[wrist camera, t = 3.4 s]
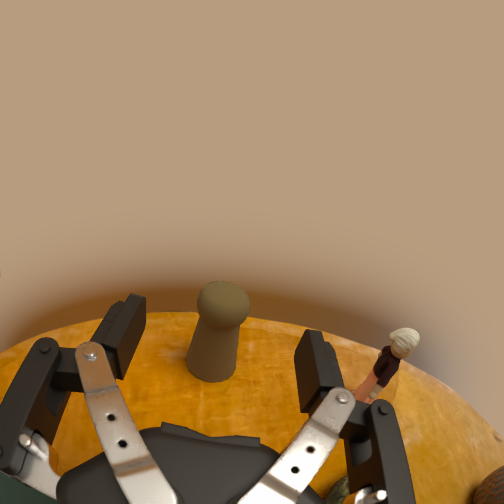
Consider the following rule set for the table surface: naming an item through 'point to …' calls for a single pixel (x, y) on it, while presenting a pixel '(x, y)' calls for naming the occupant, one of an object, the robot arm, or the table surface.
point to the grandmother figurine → (387, 364)
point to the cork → (217, 331)
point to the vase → (491, 489)
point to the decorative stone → (338, 491)
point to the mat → (21, 493)
